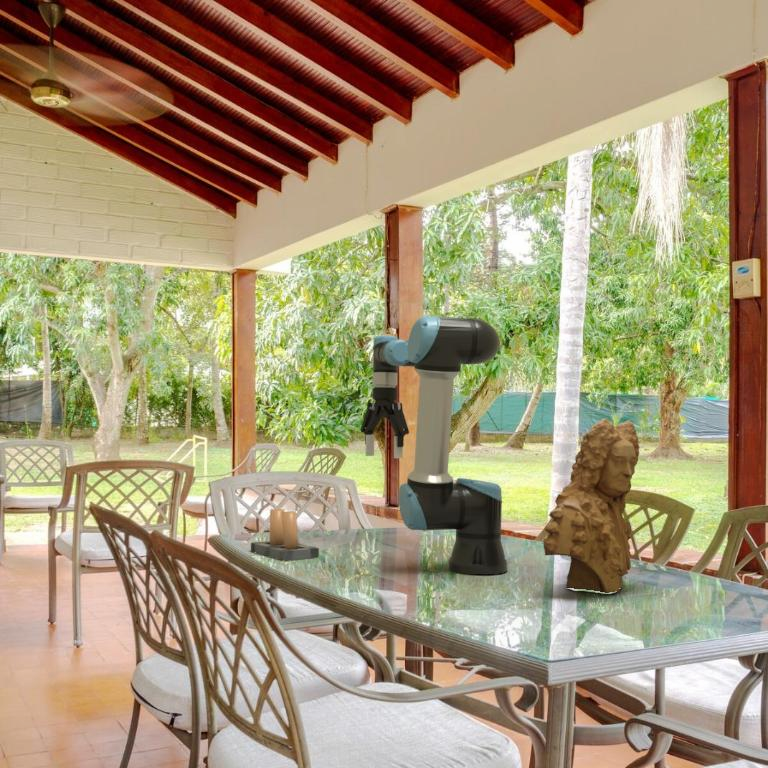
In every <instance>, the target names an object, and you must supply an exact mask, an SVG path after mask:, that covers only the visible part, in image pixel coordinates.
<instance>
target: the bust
mask: <svg viewBox="0 0 768 768" xmlns="http://www.w3.org/2000/svg"><path fill="white" fill-rule="evenodd" d="M582 438H583V439H582V441H581V442H580V447H579V448H580V450H579V451H578V453H577V454H576V455H575V458H574V459H575V463H573V464H572V466H571V469H572V471H571V472H570V482H569V484H568V485H566V486H565V487H562V488H563V489H562V492H561V493H558V494H557V496H556V498H555V505H556V506H555V507H554V508H553V509H552V510H551V511H550V512H549V514H548V516H549V517H550V518H551V521H550V522H548V523H547V524H546V525H545V526H544V527H545V528H544V531H545V532H547V534H546V539H545V540H544V541H543V549H544V556H564V557H565V556H566V557H570V565H569V570H568V573H567V576H566V587H565V589H566V588H574V589H586V590H594V591H600V592H605V593H609V592H615V591H618V590H619V588H622V589H623V577H624V576H625V575H628V574H629V572H628V571H630V570H631V567H632V562H631V551H630V549H631V545H630V543H629V540H630V539H631V538H632V537H633V532H632V525H631V524H630V522H629V521H625V518H624V515H623V514H624V512H625V509H626V507H627V505H626V497H627V495H628V494H629V493H630V490H631V488H632V481H631V480H632V478H633V475H634V474H635V473H636V472H635V469H636V468H635V467H636V465H637V464H638V462H639V455H640V446H639V445H640V444H639V443H640V442H639V437H638V434H637V430H636V428H635V425H634V423H633V422H632V421H631V420H629V419H628V420H625V421H624V422H621V423H618V424H616V425H615V426H614V423H612V422H611V421H610V420H609V419H608V418H607V417H605V418H601V419H600V421H598V422H595V423H594V424H593V426H592V427H590V428H589V429H588V431H587V432H586V433H585V434H584V435H583V436H582ZM619 591H620V590H619Z"/></svg>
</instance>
